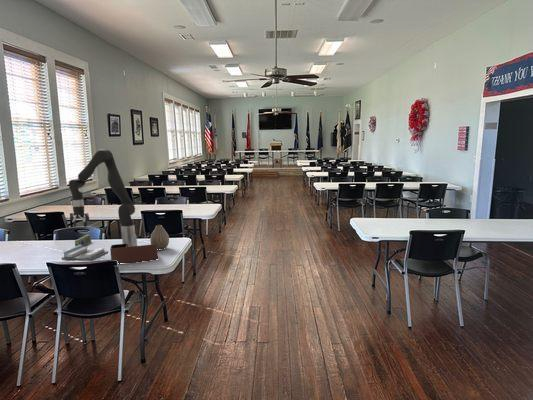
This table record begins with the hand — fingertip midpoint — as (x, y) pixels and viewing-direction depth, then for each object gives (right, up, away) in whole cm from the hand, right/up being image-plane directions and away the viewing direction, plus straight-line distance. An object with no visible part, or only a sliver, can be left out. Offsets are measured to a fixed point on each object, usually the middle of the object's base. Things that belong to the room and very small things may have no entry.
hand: (80, 226), depth 271 cm
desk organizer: (+54, -20, -34) cm, 67 cm away
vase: (+63, -16, -9) cm, 66 cm away
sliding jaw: (+8, -17, -21) cm, 29 cm away
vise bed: (+15, -19, -22) cm, 33 cm away
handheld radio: (0, -16, +2) cm, 16 cm away
